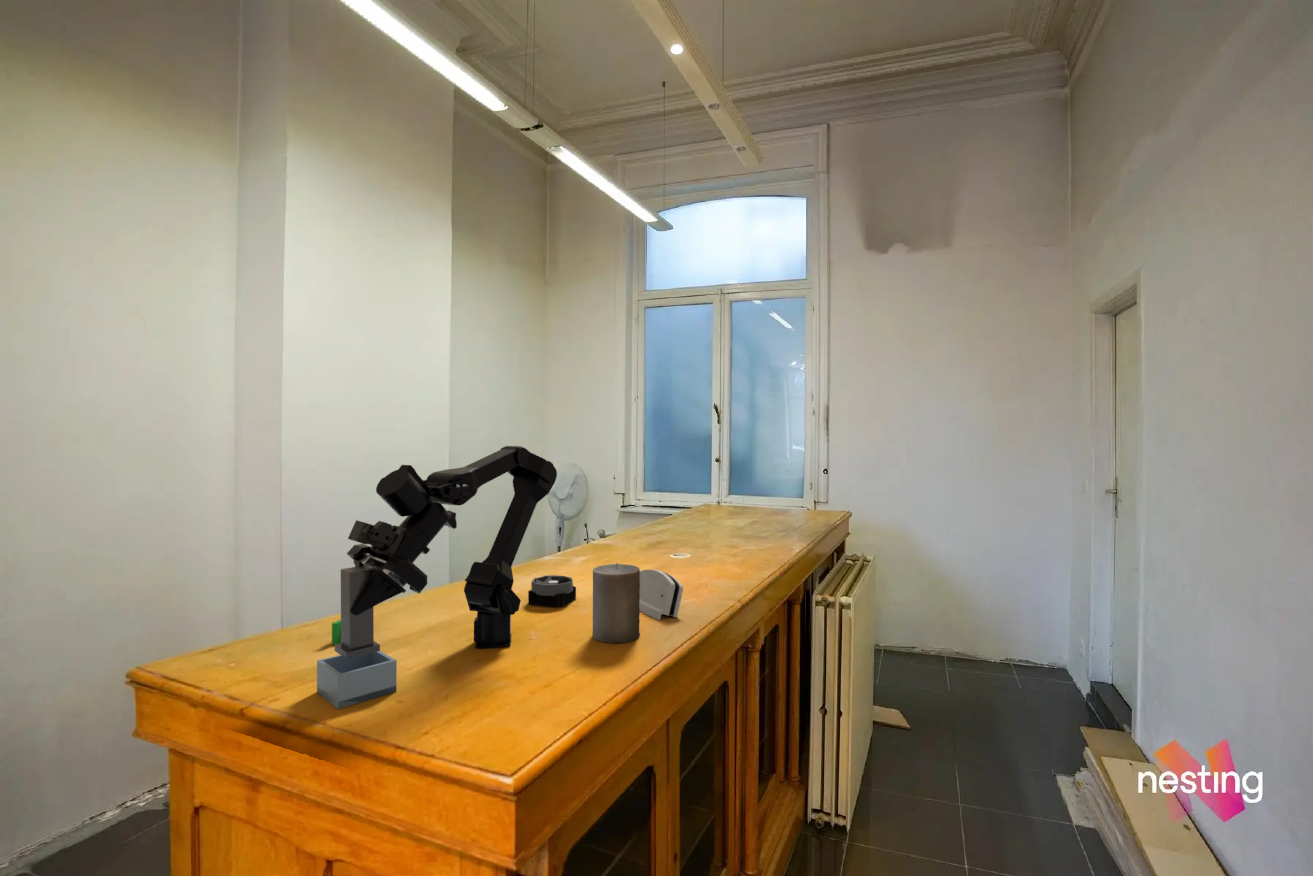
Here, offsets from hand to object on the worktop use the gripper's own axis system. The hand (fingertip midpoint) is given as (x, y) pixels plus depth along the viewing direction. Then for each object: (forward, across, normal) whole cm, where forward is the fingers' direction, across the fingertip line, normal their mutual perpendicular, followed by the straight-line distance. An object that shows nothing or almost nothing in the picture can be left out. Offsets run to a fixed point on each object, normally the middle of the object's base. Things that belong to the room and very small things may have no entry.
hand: (348, 611), depth 98 cm
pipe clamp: (+1, -28, +18) cm, 33 cm away
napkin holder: (-38, +1, +58) cm, 70 cm away
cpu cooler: (-29, -21, +49) cm, 60 cm away
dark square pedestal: (+4, 0, +6) cm, 7 cm away
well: (+8, 0, +10) cm, 13 cm away
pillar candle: (-25, +9, +44) cm, 51 cm away
